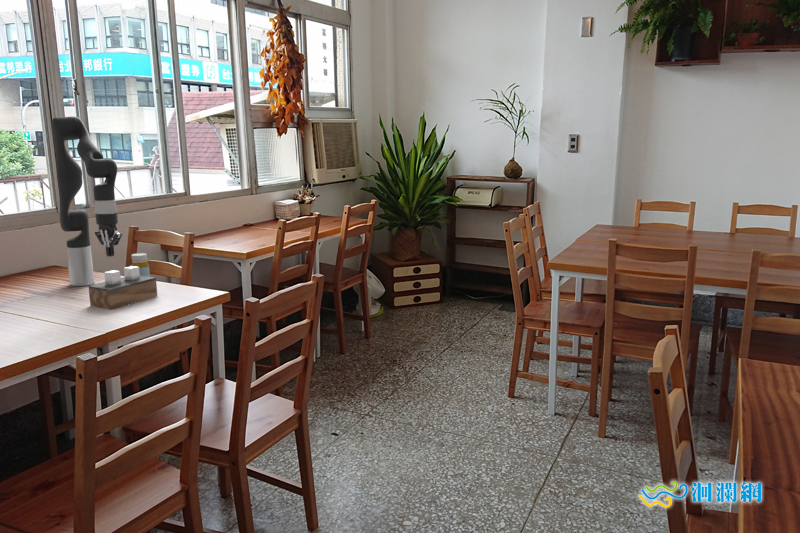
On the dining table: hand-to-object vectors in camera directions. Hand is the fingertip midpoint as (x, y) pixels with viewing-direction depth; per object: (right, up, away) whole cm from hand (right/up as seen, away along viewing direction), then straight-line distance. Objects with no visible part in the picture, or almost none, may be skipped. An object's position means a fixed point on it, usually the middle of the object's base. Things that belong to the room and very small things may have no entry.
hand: (110, 256), depth 232 cm
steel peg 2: (+4, -12, +11) cm, 17 cm away
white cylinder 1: (0, -14, +3) cm, 14 cm away
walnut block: (+2, -18, +8) cm, 20 cm away
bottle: (0, -14, +29) cm, 32 cm away
